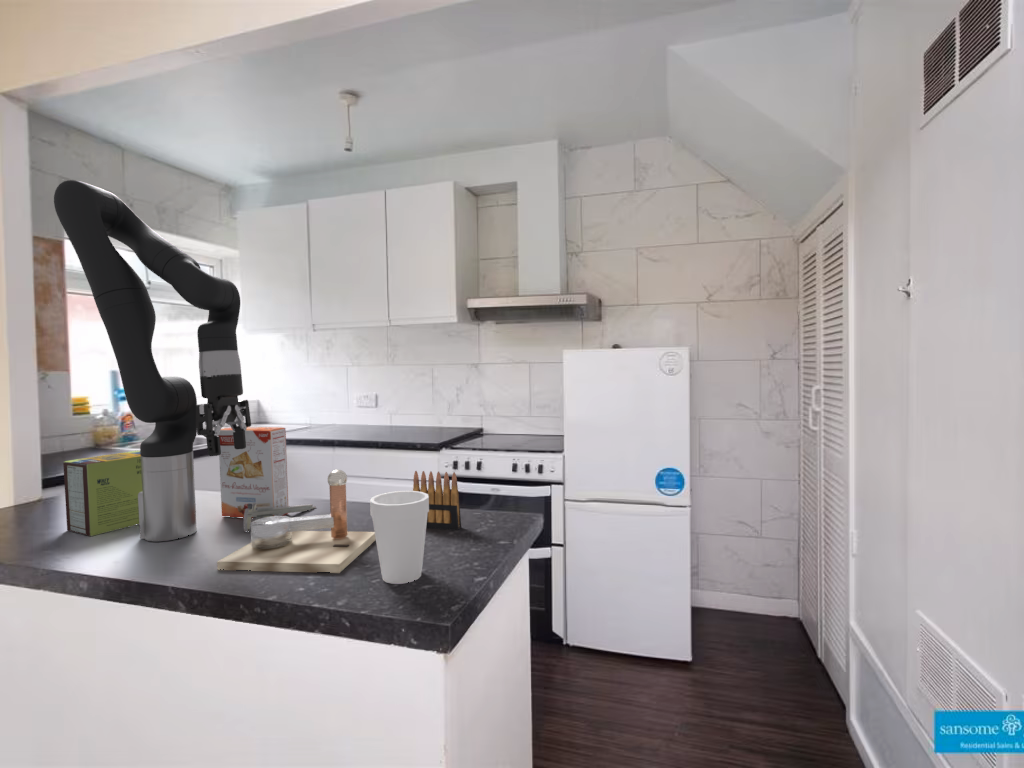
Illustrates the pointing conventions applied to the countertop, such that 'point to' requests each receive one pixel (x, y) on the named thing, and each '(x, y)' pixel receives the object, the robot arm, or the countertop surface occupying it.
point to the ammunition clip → (440, 501)
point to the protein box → (102, 492)
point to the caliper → (269, 512)
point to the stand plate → (302, 553)
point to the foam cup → (400, 533)
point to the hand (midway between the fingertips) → (228, 452)
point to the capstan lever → (304, 519)
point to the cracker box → (253, 470)
